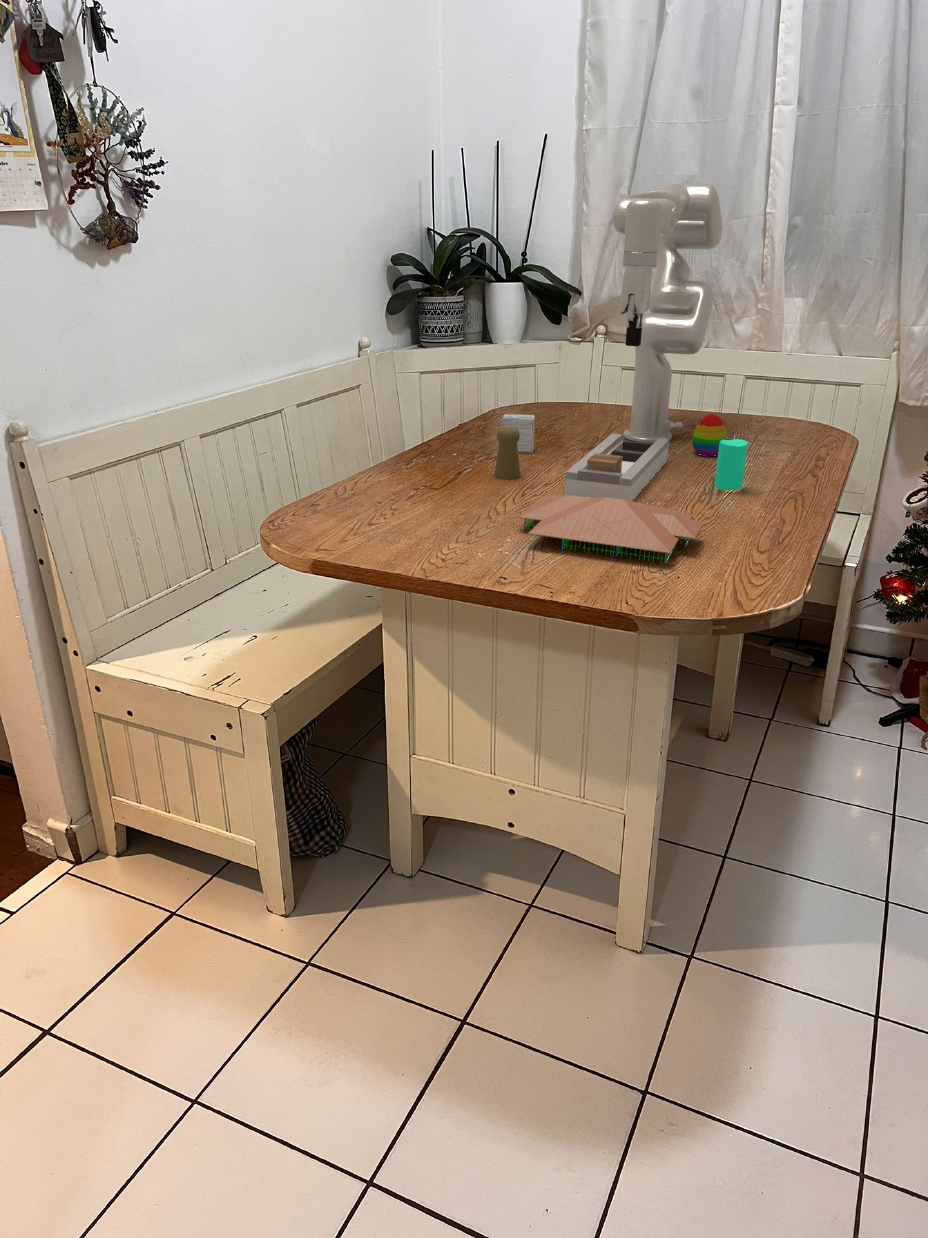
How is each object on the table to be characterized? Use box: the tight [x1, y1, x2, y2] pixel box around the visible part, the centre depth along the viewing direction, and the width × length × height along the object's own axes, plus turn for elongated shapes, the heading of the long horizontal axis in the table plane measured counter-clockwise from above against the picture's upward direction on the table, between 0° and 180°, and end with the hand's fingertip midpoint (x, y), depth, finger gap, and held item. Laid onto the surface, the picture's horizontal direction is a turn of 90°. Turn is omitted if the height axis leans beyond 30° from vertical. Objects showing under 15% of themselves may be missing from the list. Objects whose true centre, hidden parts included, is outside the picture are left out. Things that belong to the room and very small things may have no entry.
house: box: [519, 494, 704, 563], centre depth 172 cm, size 23×33×8 cm
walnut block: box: [587, 453, 623, 473], centre depth 196 cm, size 6×6×4 cm
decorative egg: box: [692, 413, 728, 456], centre depth 229 cm, size 8×8×10 cm
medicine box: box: [501, 413, 536, 454], centre depth 231 cm, size 8×4×9 cm, turn 84°
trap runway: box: [564, 433, 670, 502], centre depth 209 cm, size 38×14×6 cm, turn 157°
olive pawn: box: [493, 427, 521, 480], centre depth 209 cm, size 6×6×11 cm
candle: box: [713, 434, 749, 490], centre depth 201 cm, size 6×6×12 cm
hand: (633, 345), depth 213 cm, fingers closed
